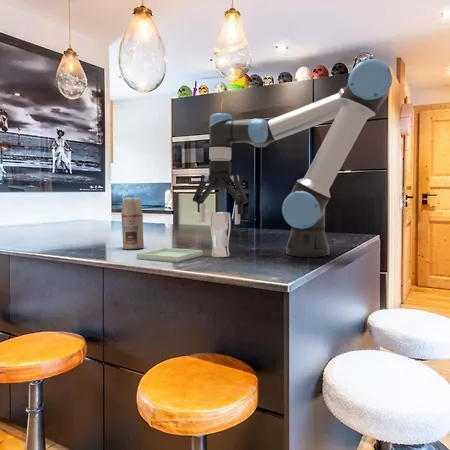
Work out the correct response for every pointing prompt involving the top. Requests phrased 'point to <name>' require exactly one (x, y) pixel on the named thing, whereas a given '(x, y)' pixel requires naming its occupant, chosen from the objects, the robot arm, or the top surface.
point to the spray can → (132, 223)
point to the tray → (170, 255)
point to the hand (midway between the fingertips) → (219, 223)
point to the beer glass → (220, 233)
